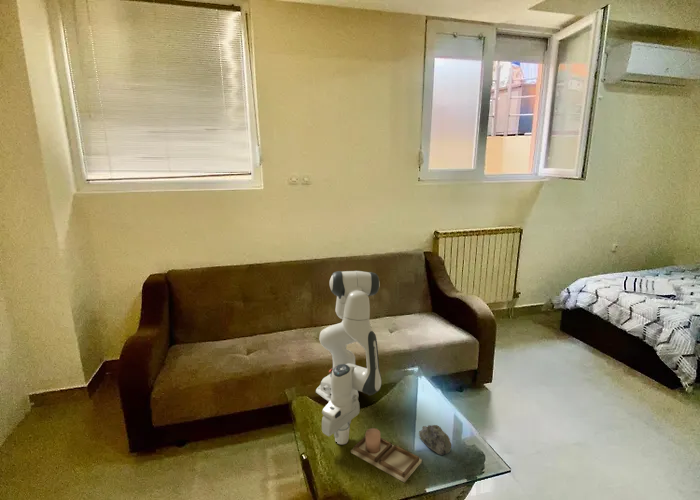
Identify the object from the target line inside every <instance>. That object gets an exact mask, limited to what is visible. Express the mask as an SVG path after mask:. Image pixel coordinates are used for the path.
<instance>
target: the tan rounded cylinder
mask: <svg viewBox="0 0 700 500" xmlns="http://www.w3.org/2000/svg"><path fill="white" fill-rule="evenodd" d="M365 436H366V451H367V452H369V453H372V454H375V453H378V452H379V451H380V438H381V430H379V429H378V428H373V427H372V428H368V429H367V430H365Z"/></svg>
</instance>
